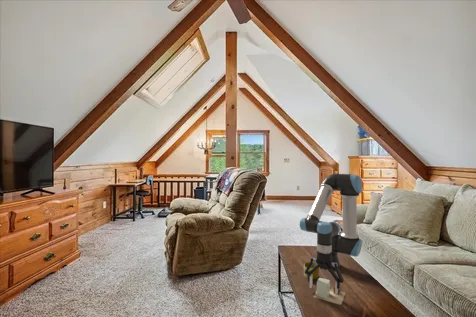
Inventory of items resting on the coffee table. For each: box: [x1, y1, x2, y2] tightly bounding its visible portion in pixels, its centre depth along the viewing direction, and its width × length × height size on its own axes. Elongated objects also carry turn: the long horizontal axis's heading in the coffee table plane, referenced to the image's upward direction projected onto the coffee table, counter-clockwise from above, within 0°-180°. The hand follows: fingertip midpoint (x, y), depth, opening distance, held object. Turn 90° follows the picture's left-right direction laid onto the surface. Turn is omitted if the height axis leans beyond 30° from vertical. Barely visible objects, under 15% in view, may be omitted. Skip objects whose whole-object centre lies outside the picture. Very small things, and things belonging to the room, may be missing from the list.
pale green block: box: [316, 277, 331, 299], centre depth 140 cm, size 6×6×8 cm
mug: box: [303, 261, 320, 280], centre depth 162 cm, size 12×10×10 cm
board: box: [313, 285, 346, 306], centre depth 140 cm, size 14×14×4 cm
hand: (323, 290), depth 140 cm, fingers open, 13 cm apart
